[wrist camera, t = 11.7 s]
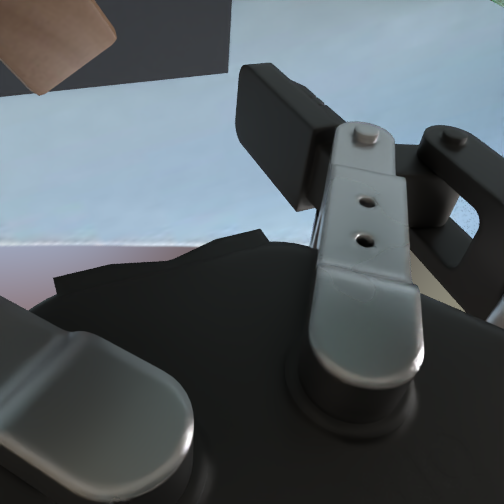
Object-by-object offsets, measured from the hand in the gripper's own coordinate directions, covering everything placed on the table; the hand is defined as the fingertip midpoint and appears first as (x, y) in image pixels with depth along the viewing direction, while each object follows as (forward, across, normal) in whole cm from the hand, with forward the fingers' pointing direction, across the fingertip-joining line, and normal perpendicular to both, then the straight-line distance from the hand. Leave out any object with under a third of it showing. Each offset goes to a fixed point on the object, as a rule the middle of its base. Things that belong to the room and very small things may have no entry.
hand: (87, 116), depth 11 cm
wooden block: (+16, 0, +1) cm, 16 cm away
